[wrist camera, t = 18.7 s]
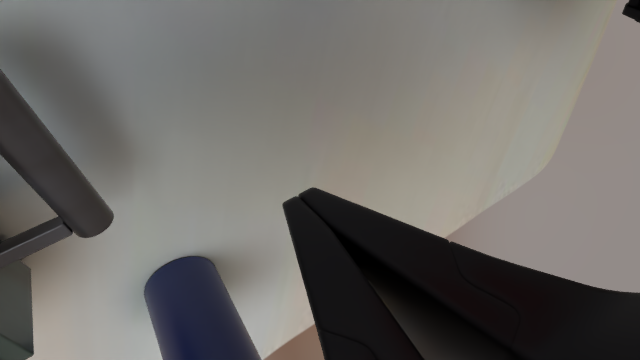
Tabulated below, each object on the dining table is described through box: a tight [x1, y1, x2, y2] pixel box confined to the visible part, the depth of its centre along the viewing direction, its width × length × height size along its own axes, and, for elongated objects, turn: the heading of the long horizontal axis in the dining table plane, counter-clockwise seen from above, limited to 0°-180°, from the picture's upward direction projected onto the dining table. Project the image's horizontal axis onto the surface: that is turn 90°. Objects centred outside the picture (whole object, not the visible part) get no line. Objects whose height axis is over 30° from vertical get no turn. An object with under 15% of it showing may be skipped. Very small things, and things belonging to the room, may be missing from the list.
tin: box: [144, 257, 261, 360], centre depth 20 cm, size 5×5×10 cm
